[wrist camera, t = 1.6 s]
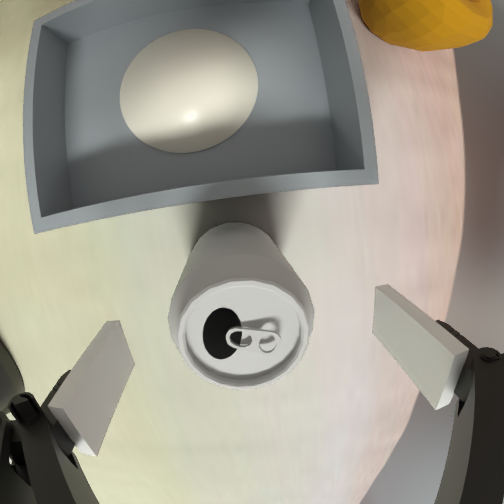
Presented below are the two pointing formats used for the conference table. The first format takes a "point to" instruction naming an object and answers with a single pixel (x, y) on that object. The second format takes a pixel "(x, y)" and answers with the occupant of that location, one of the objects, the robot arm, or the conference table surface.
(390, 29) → the apple
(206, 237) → the can
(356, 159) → the walled box
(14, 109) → the conference table surface
